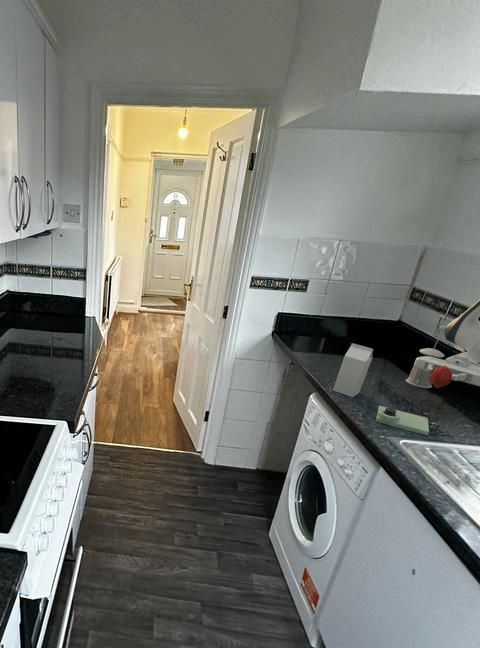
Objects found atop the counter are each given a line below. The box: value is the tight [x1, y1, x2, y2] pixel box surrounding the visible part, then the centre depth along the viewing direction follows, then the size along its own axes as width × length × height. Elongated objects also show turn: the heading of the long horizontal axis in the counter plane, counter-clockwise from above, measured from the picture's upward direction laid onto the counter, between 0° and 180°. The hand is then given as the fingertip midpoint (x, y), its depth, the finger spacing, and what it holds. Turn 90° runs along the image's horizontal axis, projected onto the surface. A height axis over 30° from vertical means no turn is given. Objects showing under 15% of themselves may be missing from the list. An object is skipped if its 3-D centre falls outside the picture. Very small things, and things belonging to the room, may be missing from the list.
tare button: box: [384, 407, 397, 416], centre depth 136 cm, size 3×3×2 cm
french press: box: [405, 325, 447, 389], centre depth 164 cm, size 10×12×25 cm
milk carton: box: [332, 343, 374, 398], centre depth 153 cm, size 7×7×19 cm
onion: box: [429, 365, 453, 389], centre depth 137 cm, size 6×6×8 cm
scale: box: [375, 405, 430, 436], centre depth 137 cm, size 14×12×3 cm
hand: (441, 374), depth 136 cm, fingers closed on onion, 5 cm apart
